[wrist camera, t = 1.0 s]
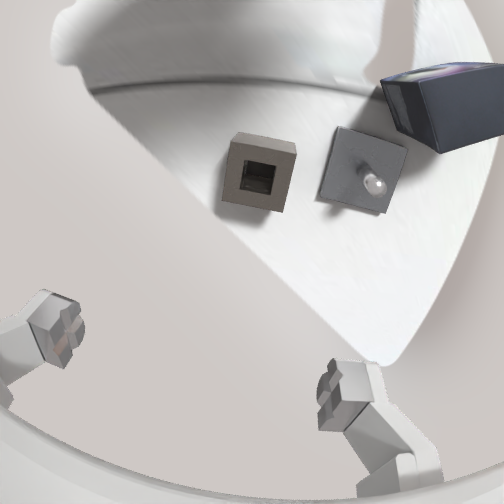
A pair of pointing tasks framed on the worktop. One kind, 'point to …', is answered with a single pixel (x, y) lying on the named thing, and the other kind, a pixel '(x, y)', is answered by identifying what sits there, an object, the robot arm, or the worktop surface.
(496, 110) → the small box
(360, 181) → the shaft stand
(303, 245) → the worktop surface
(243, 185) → the collar
